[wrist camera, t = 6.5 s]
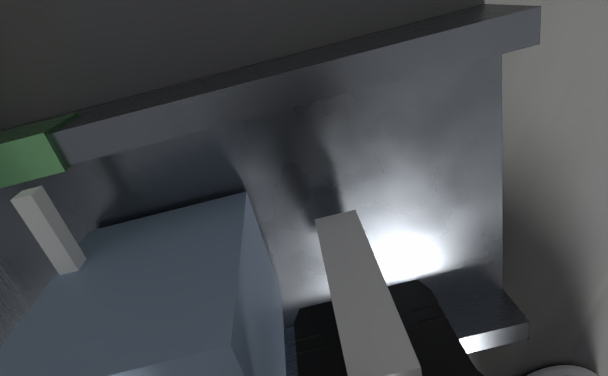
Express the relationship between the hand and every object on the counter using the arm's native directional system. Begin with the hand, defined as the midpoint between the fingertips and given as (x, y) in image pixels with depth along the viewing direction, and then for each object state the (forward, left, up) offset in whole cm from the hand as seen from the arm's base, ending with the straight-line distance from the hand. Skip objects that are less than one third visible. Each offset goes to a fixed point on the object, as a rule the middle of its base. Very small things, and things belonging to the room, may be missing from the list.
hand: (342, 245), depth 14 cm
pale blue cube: (-6, +1, -1) cm, 6 cm away
